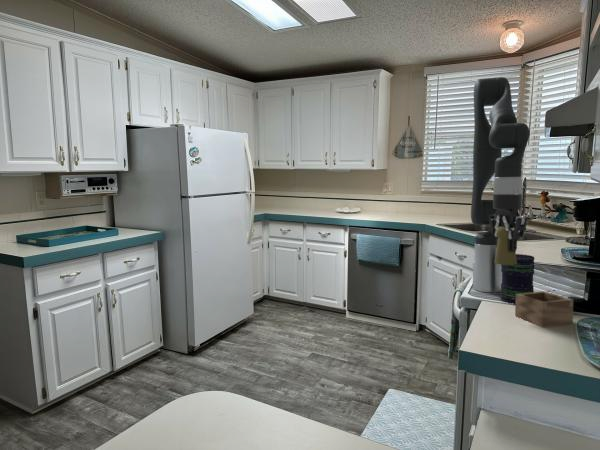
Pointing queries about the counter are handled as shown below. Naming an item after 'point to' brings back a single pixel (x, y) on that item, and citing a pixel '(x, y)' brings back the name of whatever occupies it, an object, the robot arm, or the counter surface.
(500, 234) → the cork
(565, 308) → the open walnut box
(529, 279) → the storage jar
